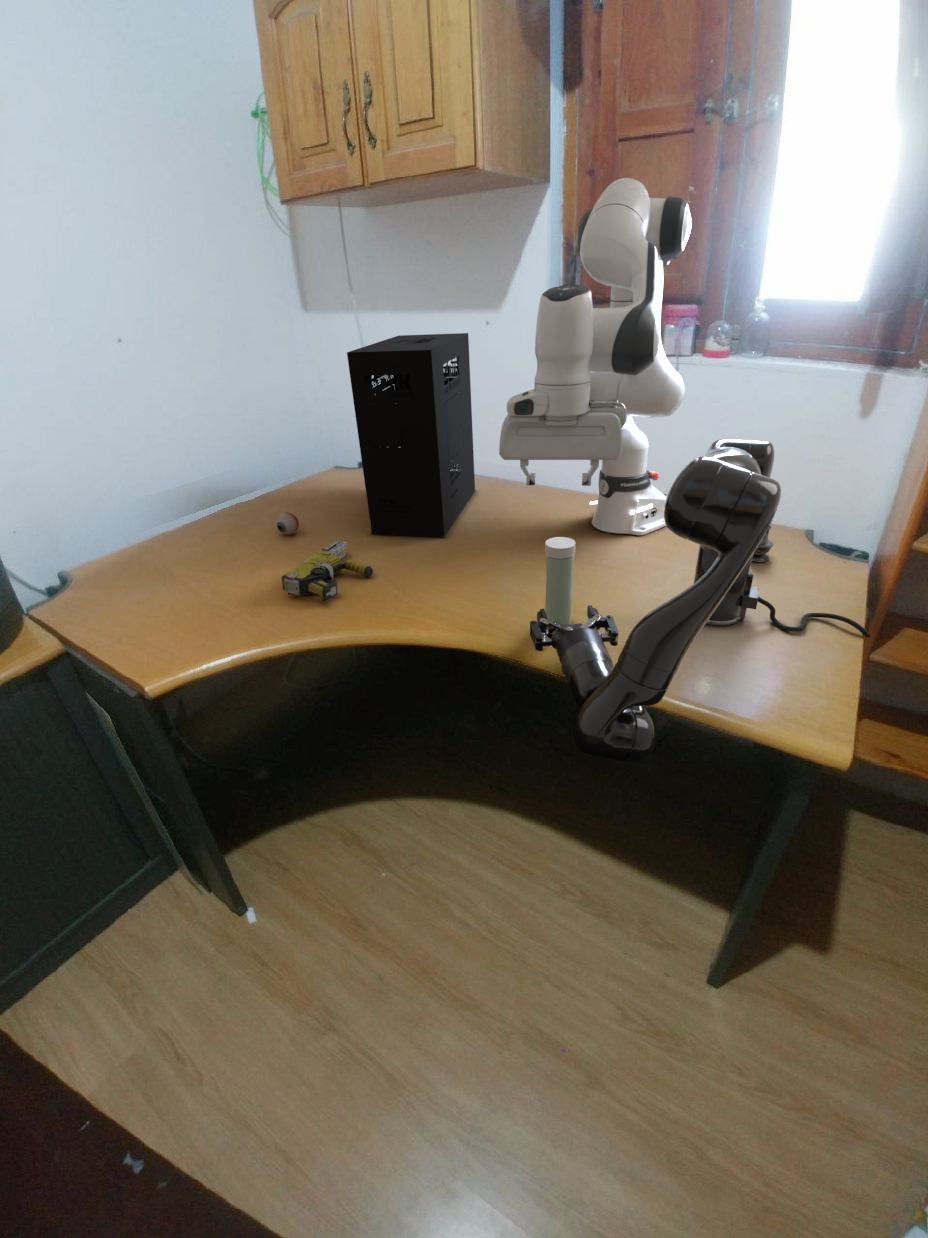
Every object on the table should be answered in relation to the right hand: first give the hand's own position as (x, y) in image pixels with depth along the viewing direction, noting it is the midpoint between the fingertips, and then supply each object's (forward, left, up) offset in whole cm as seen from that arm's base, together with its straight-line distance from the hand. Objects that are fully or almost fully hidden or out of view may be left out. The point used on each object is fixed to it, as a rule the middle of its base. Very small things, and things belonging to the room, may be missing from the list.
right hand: (565, 611), depth 108 cm
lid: (0, -6, +10) cm, 12 cm away
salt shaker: (-50, -30, -6) cm, 58 cm away
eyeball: (+63, -64, -6) cm, 90 cm away
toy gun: (+46, -33, -6) cm, 57 cm away
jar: (0, -6, -6) cm, 9 cm away
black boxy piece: (+25, -75, -6) cm, 79 cm away
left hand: (0, -7, +21) cm, 22 cm away
